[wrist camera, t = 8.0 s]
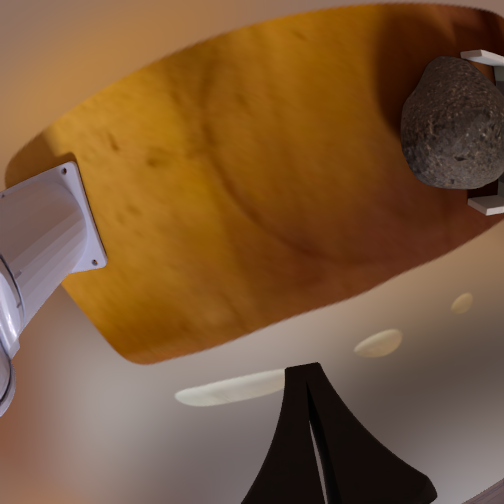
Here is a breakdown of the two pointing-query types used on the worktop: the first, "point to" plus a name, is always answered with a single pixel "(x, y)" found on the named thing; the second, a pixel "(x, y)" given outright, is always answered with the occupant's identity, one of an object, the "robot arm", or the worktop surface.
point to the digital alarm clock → (500, 64)
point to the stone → (454, 126)
